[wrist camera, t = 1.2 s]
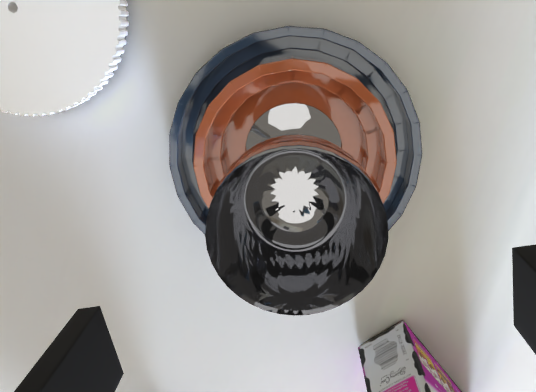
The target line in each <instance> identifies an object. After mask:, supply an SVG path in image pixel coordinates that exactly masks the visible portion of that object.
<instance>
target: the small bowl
mask: <svg viewBox="0 0 536 392" xmlns="http://www.w3.org/2000/svg"><path fill="white" fill-rule="evenodd" d="M285 103H303V104H307V105H310V106H313V107H315V108H317V109H319V110H321V111H322V112H323V113H325V114H326V115H327V116H328V117H329V118H330V119H331V120H332V121H333V123H334V124H335V126H336V127H337V129H338V132H339V134H340V137H341V142H342V149H343V150H345V151H346V152H347V153H349V154H350V155H351V156H352V157H353V158H354V159H355V160H356V161H357V162H358V163H359V164H360V165H361V166H362V167H363V169H364V170H365V171H366V173H367V174H368V176H369V177H370V179H371V180H372V182H373V184H374V185H375V187H376V189H377V191H378V193H379V195H380V198H381V200H382V203H384V202H385V200H386V198H387V197H388V195H389V193H390V190H391V186H392V182H393V177H394V173H395V169H396V164H397V163H396V162H397V159H396V149H395V139H394V132H393V128H392V126H391V124H390V122H389V120H388V118H387V116H386V113H385V111H384V109H383V107H382V105H381V103H380V101H379V100H378V99H377V98H376V97H375V96H374V95H373V94H372V93H371V92H370V91H369V90H368V89H367V88H366V87H365V86H364V85H363V84H362V83H361V82H360V81H359V80H358V79H357V78H356V77H355V76H353V75H352V74H350V73H349V72H347V71H345V70H343V69H341V68H339V67H337V66H335V65H333V64H331V63H329V62H327V61H325V60H322V59H315V58H308V57H301V56H286V57H281V58H276V59H271V60H266V61H262V62H260V63H258V64H256V65H255V66H253V67H251V68H249V69H248V70H246V71H244V72H242V73H240V74H239V75H237V76H236V77H234V78H233V79H232V80H231V81H230V82H229V83H228V84H227V85H226V86H225V87H224V88H223V89H222V91H221V92H220V93H219V94H218V95H217V96H216V97H215V98H214V100H213V101H212V102H211V103H210V104H209V105H208V107H207V109H206V111H205V114H204V116H203V118H202V121H201V123H200V126H199V128H198V130H197V133H196V136H195V147H194V161H193V168H194V172H195V176H196V180H197V184H198V188H199V192H200V195H201V197H202V198H203V200H204V202H205V203H206V205H207V206H208V208H209V207H210V203H211V201H212V198H213V196H214V194H215V192H216V189H217V187H218V185H219V183H220V181H221V180H222V178H223V177H224V175H225V174H226V172H227V171H228V169H229V168H230V167H231V165H232V164H233V163H234V162H235V161H236V160H237V159H238V158H239V157H240V156H241V155H242V154H243V153H244V152H245V146H246V140H247V136H248V133H249V131H250V129H251V127H252V125H253V124H254V123H255V121H256V120H257V119H258V118H259V117H260V116H261V115H262V114H263V113H265V112H266V111H267V110H269V109H271V108H273V107H275V106H277V105H281V104H285Z"/></svg>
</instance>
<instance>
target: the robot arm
mask: <svg viewBox="0 0 536 392" xmlns="http://www.w3.org/2000/svg"><path fill="white" fill-rule="evenodd" d="M512 257H513V307H514V326H515V327H516V329H517V330H518V331H519V333H520V334H521V335H522V337H523V338H524V339H525V341H526V342H527V343H528V345H529V346H530V347H531V349H532V350H533V351H534V353H535V354H536V245H530V246H522V247H515V248H512ZM123 374H124V373H123V370H122V368H121V365H120V362H119V359H118V356H117V353H116V351H115V348H114V345H113V342H112V339H111V336H110V334H109V331H108V328H107V325H106V322H105V319H104V317H103V314H102V311H101V308H100V306H97V307H90V308H83V309H78V310H77V311H76V312H75V314H74V315H73V316H72V318H71V319H70V320H69V322H68V323H67V324H66V325H65V327H64V328H63V329H62V331H61V332H60V333H59V334H58V336H57V337H56V338H55V340H54V341H53V342H52V343H51V345H50V346H49V347H48V349H47V350H46V351H45V352H44V354H43V355H42V356H41V358H40V359H39V360H38V362H37V363H36V364H35V365H34V367H33V368H32V369H31V371H30V372H29V373H28V374H27V376H26V377H25V378H24V380H23V381H22V382H21V383H20V385H19V386H18V387H17V389H16V390H15V391H14V392H115V390H116V388H117V386H118V384H119V382H120V380H121V378H122V376H123Z"/></svg>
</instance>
